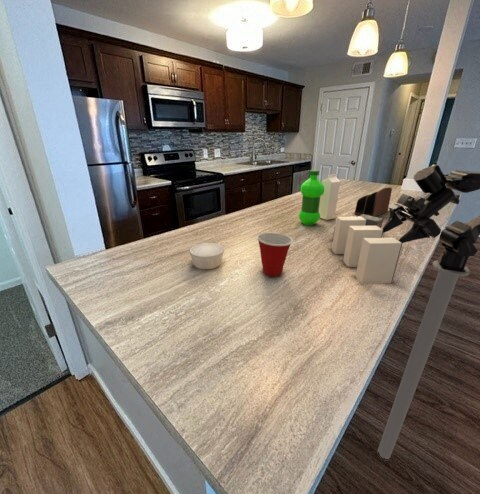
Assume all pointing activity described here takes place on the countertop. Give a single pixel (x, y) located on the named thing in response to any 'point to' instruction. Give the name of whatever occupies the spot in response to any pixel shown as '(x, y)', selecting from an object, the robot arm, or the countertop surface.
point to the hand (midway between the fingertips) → (390, 236)
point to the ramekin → (207, 255)
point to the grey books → (370, 221)
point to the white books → (369, 252)
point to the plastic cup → (273, 252)
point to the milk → (329, 197)
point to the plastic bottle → (311, 199)
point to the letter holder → (374, 203)
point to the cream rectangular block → (358, 242)
